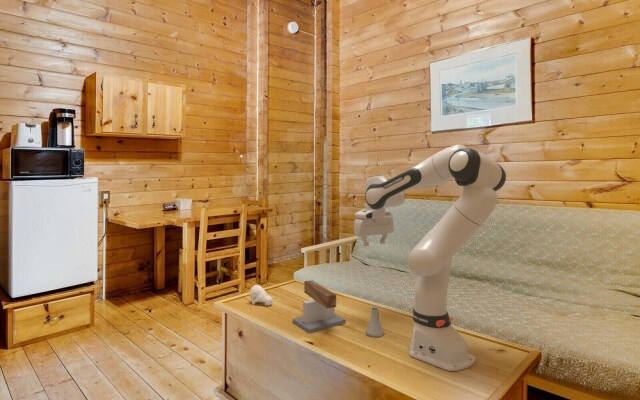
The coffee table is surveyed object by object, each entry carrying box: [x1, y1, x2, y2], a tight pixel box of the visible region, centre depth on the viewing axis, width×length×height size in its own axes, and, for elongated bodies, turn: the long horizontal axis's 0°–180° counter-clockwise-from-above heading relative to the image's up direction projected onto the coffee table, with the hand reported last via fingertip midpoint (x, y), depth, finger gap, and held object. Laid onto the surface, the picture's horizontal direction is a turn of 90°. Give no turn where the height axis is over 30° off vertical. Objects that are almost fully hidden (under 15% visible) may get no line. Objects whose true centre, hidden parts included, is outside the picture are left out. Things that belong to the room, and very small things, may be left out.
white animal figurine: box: [248, 284, 274, 306], centre depth 183 cm, size 6×8×12 cm
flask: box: [365, 306, 385, 338], centre depth 149 cm, size 7×7×10 cm
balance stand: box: [292, 298, 347, 334], centre depth 160 cm, size 13×18×10 cm
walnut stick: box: [303, 279, 337, 309], centre depth 159 cm, size 4×22×5 cm, turn 26°
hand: (374, 244), depth 167 cm, fingers open, 8 cm apart
